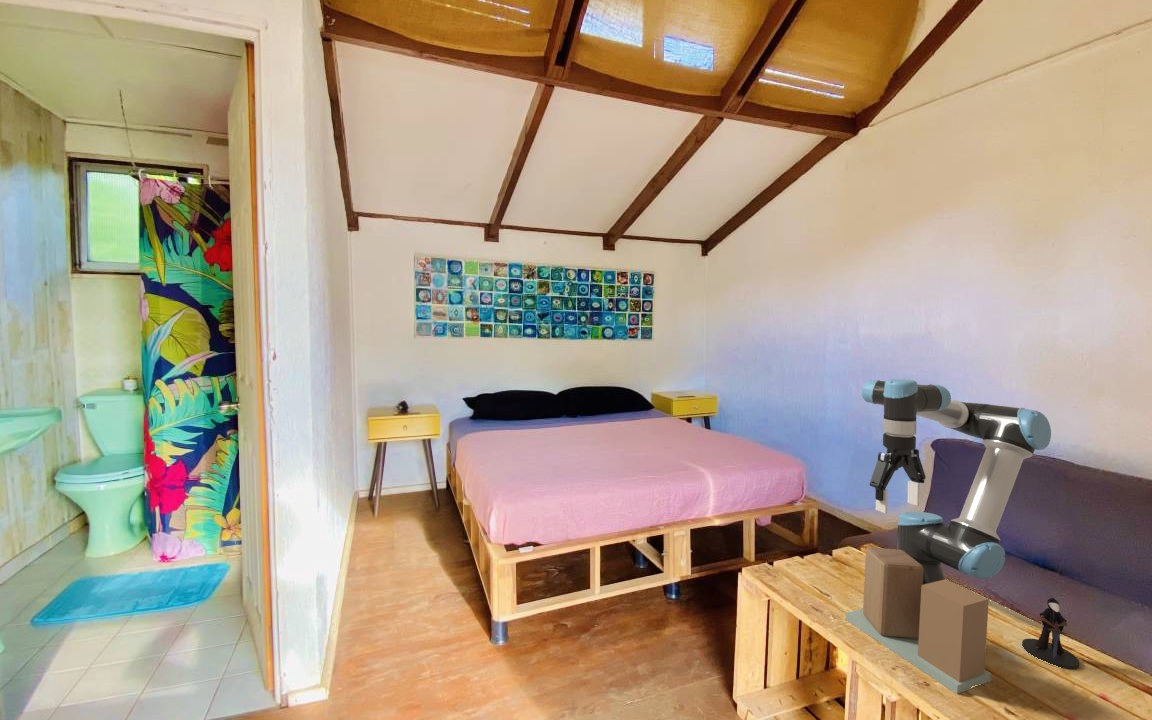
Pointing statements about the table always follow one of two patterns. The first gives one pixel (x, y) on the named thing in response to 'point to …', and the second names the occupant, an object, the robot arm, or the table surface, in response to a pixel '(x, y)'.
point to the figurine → (1053, 650)
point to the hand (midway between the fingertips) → (897, 507)
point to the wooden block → (892, 592)
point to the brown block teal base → (943, 635)
